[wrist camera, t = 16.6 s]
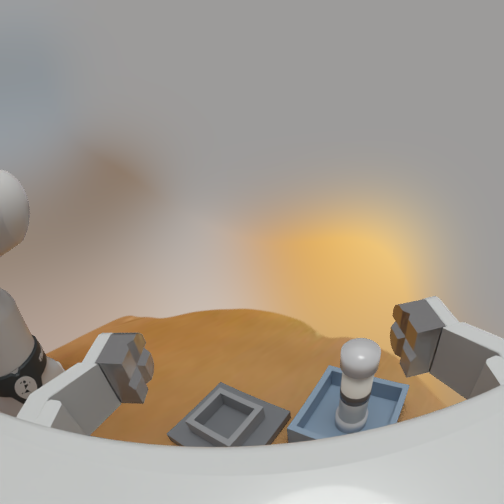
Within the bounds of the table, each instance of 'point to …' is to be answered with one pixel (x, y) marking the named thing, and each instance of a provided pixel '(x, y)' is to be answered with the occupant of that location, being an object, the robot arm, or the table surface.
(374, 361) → the fuse
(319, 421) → the parts tray
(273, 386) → the table surface
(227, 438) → the gray square socket base
